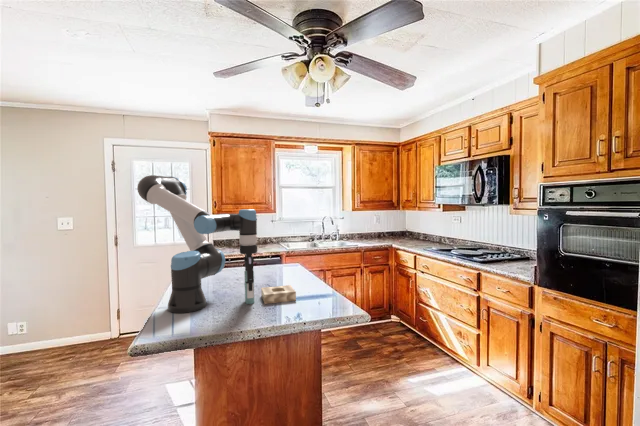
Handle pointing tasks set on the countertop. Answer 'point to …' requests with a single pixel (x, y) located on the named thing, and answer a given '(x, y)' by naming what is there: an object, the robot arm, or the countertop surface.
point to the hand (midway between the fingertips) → (249, 294)
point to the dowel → (247, 300)
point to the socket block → (278, 294)
